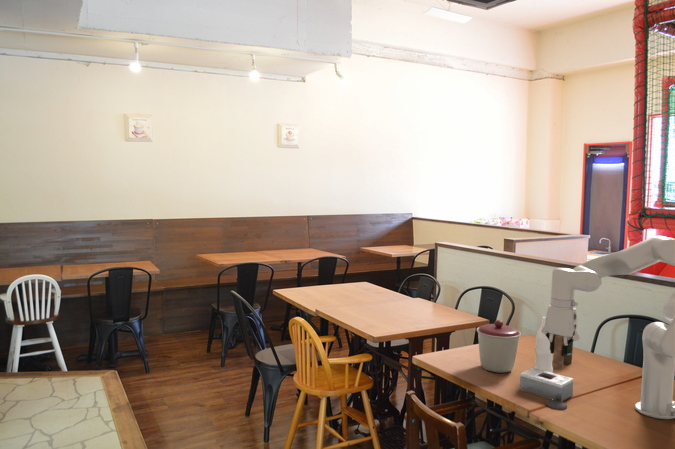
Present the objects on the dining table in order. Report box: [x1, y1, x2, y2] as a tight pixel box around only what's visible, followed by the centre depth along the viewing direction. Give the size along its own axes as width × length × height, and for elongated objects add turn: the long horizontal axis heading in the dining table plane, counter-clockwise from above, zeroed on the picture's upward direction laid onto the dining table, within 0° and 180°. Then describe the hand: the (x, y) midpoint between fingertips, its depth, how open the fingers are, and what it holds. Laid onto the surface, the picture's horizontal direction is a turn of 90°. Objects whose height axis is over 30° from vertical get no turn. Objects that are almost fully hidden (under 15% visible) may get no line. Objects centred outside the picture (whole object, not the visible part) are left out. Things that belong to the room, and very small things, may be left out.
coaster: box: [545, 399, 568, 411], centre depth 193 cm, size 7×7×1 cm
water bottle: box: [533, 316, 554, 373], centre depth 220 cm, size 7×7×25 cm
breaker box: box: [519, 367, 574, 402], centre depth 205 cm, size 16×10×6 cm, turn 45°
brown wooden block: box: [552, 335, 564, 371], centre depth 192 cm, size 3×3×14 cm
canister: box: [476, 319, 522, 374], centre depth 230 cm, size 18×18×21 cm
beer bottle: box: [553, 336, 574, 366], centre depth 241 cm, size 8×8×24 cm
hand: (558, 353), depth 192 cm, fingers closed on brown wooden block, 3 cm apart
